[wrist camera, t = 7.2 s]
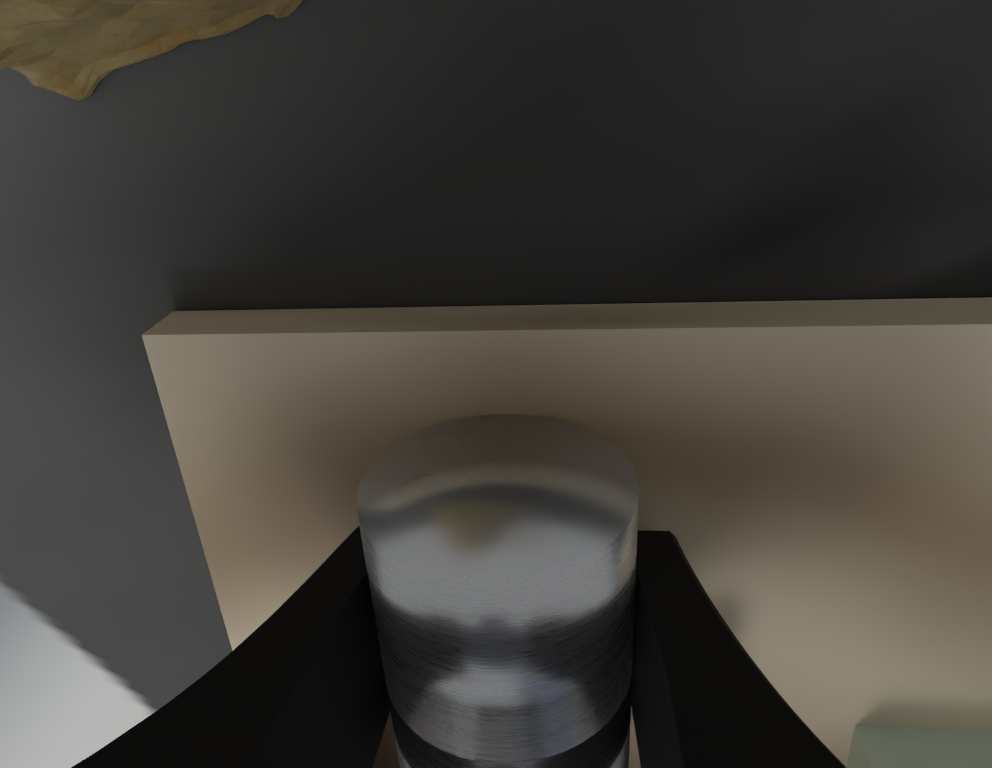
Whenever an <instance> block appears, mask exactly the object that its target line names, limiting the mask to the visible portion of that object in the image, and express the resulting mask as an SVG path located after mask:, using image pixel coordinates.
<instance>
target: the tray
mask: <svg viewBox="0 0 992 768" xmlns="http://www.w3.org/2000/svg"><path fill="white" fill-rule="evenodd" d="M846 768H992V731H977V730H955V729H933V728H910V727H888V726H866V725H855V729H854V733H853V737H852V742H851V746H850V751H849V755H848V759H847V764H846Z"/></svg>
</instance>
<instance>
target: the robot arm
mask: <svg viewBox="0 0 992 768" xmlns="http://www.w3.org/2000/svg"><path fill="white" fill-rule="evenodd" d="M631 707H632V713H633V720H634V726H635V733H636V739H637V745H638V752H639V758H640V764H641V768H846V767H845V766H844V764H843V763H842V762H841V761H840V760H839V759H838V758H837V757H836V756H835V755H834V754H833V753H832V752H831V751H830V750H829V749H828V748H827V747H826V746H825V745H824V744H823V743H822V742H821V740H820V739H819V738H818V737H817V736H816V735H815V734H814V733H813V732H812V731H811V730H810V728H809V727H808V726H807V725H806V724H805V723H804V722H803V721H802V720H801V718H800V717H799V716H798V715H797V714H796V713H795V712H794V711H793V709H792V708H791V707H790V706H789V705H788V704H787V702H786V701H785V700H784V699H783V698H782V696H781V695H780V694H779V693H778V692H777V690H776V689H775V688H774V687H773V685H772V684H771V683H770V682H769V680H768V679H767V678H766V677H765V675H764V674H763V673H762V671H761V670H760V669H759V668H758V666H757V665H756V664H755V662H754V661H753V660H752V658H751V657H750V656H749V655H748V653H747V652H746V650H745V649H744V648H743V646H742V645H741V644H740V642H739V641H738V639H737V638H736V637H735V635H734V634H733V632H732V631H731V629H730V628H729V626H728V625H727V623H726V622H725V620H724V619H723V617H722V616H721V615H720V613H719V612H718V610H717V609H716V607H715V606H714V604H713V602H712V601H711V599H710V598H709V596H708V595H707V593H706V591H705V590H704V588H703V586H702V585H701V583H700V581H699V580H698V578H697V576H696V575H695V573H694V571H693V569H692V567H691V566H690V564H689V562H688V560H687V558H686V556H685V554H684V552H683V550H682V548H681V546H680V544H679V542H678V540H677V538H676V537H675V536H674V535H673V534H672V533H671V532H670V531H649V530H637V556H636V584H635V611H634V639H633V666H632V693H631ZM389 713H390V705H389V699H388V693H387V687H386V681H385V675H384V669H383V663H382V657H381V652H380V646H379V640H378V634H377V628H376V622H375V616H374V610H373V604H372V598H371V592H370V586H369V580H368V574H367V568H366V562H365V556H364V550H363V544H362V538H361V532H360V526H358V527H357V528H356V529H355V530H354V531H353V532H352V533H351V534H350V535H349V536H348V537H347V538H346V539H345V540H344V541H343V542H342V543H341V544H340V545H339V546H338V547H337V549H336V550H335V551H334V552H333V553H332V554H331V555H330V556H329V557H328V558H327V559H326V560H325V561H324V562H323V563H322V564H321V566H320V567H319V568H318V569H317V570H316V571H315V572H314V573H313V574H312V575H311V576H310V577H309V578H308V579H307V580H306V581H305V582H304V583H303V584H302V585H301V586H300V587H299V588H298V589H297V590H296V591H295V592H294V593H293V594H292V595H291V596H290V597H289V598H288V599H287V600H286V601H285V602H284V603H283V604H282V605H281V606H280V607H279V608H278V609H277V610H276V611H275V612H274V613H273V614H272V615H271V616H270V617H269V618H268V619H267V620H266V621H265V622H264V623H263V624H262V625H260V626H259V627H258V628H257V629H256V630H255V631H254V632H253V633H252V634H251V635H250V636H248V637H247V638H246V639H245V640H244V641H243V642H242V643H241V644H240V645H239V646H237V647H236V648H235V649H234V650H233V651H232V652H231V653H230V654H229V655H228V656H226V657H225V658H224V659H223V660H222V661H221V662H219V663H218V664H217V665H216V666H215V667H213V668H212V669H211V670H210V671H208V672H207V673H206V674H205V675H204V676H202V677H201V678H200V679H199V680H197V681H196V682H195V683H193V684H192V685H191V686H189V687H188V688H187V689H186V690H184V691H183V692H182V693H180V694H179V695H178V696H176V697H175V698H174V699H173V700H171V701H170V702H169V703H167V704H166V705H164V706H163V707H162V708H160V709H159V710H158V711H156V712H155V713H153V714H152V715H150V716H149V717H147V718H146V719H144V720H143V721H142V722H140V723H139V724H137V725H136V726H134V727H133V728H131V729H130V730H128V731H127V732H125V733H124V734H122V735H121V736H120V737H118V738H116V739H115V740H114V741H112V742H111V743H109V744H108V745H106V746H105V747H103V748H102V749H100V750H99V751H97V752H96V753H94V754H93V755H91V756H89V757H88V758H86V759H85V760H83V761H81V762H80V763H78V764H76V765H75V766H73V767H72V768H372V767H373V764H374V761H375V758H376V755H377V752H378V748H379V745H380V742H381V739H382V736H383V733H384V729H385V726H386V723H387V720H388V717H389Z"/></svg>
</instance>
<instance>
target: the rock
mask: <svg viewBox="0 0 992 768" xmlns="http://www.w3.org/2000/svg"><path fill="white" fill-rule="evenodd" d="M302 1H303V0H0V70H3V69H6V68H8V67H10V68H11V69H14V70H16V71H18V72H20V73H21V74H23V75H25V76H26V77H27V79H28V80H29V81H30V82H31V83H32V84H33V85H34V86H38V87H42V88H46V89H48V90H51V91H54V92H56V93H59V94H62V95H64V96H67V97H69V98H72V99H75V100H78V101H80V100H82V99H85V98H87V97H90V96H91V94H92V93H93V91H94V90H95V88H96V87H97V85H98V84H99V83H100V81H101V80H102V79H103V78H104V77H105V76H107V75H108V74H109V73H110V72H112V71H113V70H114V69H118V68H121V67H124V66H128V65H131V64H134V63H138V62H141V61H144V60H146V59H149V58H152V57H155V56H157V55H160V54H163V53H166V52H169V51H171V50H172V49H174V48H175V47H177V46H178V45H180V44H182V43H184V42H188V41H192V40H197V39H206V38H210V37H214V36H220V35H226V34H228V33H230V32H232V31H234V30H236V29H239V28H241V27H243V26H245V25H247V24H249V23H251V22H252V21H254V20H256V19H258V18H260V17H262V16H263V15H265V14H270V15H274V16H275V17H276V18H277V19H278V18H282V17H286V16H289V15H290V14H291V13H292V12H293V11H294V10H295V9H296V8H297V7H298V6H299V4H300V3H301V2H302Z"/></svg>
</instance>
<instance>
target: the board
mask: <svg viewBox="0 0 992 768" xmlns="http://www.w3.org/2000/svg"><path fill="white" fill-rule="evenodd" d="M142 338H143V341H144V345H145V348H146V352H147V355H148V359H149V362H150V366H151V369H152V373H153V376H154V379H155V383H156V386H157V390H158V393H159V397H160V400H161V404H162V407H163V411H164V414H165V418H166V421H167V425H168V428H169V432H170V435H171V439H172V442H173V446H174V449H175V452H176V456H177V459H178V463H179V466H180V470H181V473H182V477H183V480H184V484H185V487H186V491H187V494H188V498H189V501H190V505H191V508H192V512H193V515H194V518H195V522H196V525H197V529H198V532H199V536H200V539H201V543H202V546H203V550H204V553H205V557H206V560H207V564H208V567H209V571H210V574H211V578H212V581H213V585H214V588H215V591H216V595H217V598H218V602H219V605H220V609H221V612H222V616H223V619H224V623H225V626H226V630H227V633H228V637H229V640H230V644H231V647H232V651H233V650H234V649H235V648H236V647H237V646H239V645H240V644H241V643H242V642H243V641H244V640H245V639H246V638H247V637H248V636H250V635H251V634H252V633H253V632H254V631H255V630H256V629H257V628H258V627H259V626H260V625H262V624H263V623H264V622H265V621H266V620H267V619H268V618H269V617H270V616H271V615H272V614H273V613H274V612H275V611H276V610H277V609H278V608H279V607H280V606H281V605H282V604H283V603H284V602H285V601H286V600H287V599H288V598H289V597H290V596H291V595H292V594H293V593H294V592H295V591H296V590H297V589H298V588H299V587H300V586H301V585H302V584H303V583H304V582H305V581H306V580H307V579H308V578H309V577H310V576H311V575H312V574H313V573H314V572H315V571H316V570H317V569H318V568H319V567H320V566H321V564H322V563H323V562H324V561H325V560H326V559H327V558H328V557H329V556H330V555H331V554H332V553H333V552H334V551H335V550H336V549H337V547H338V546H339V545H340V544H341V543H342V542H343V541H344V540H345V539H346V538H347V537H348V536H349V535H350V534H351V533H352V532H353V531H354V530H355V529H356V528H357V527H358V526H359V520H358V514H357V505H356V497H357V491H358V487H359V485H360V482H361V480H362V478H363V476H364V474H365V473H366V471H367V470H368V468H369V467H370V466H371V465H372V464H373V462H374V461H375V460H376V459H377V458H378V457H379V456H381V455H382V454H383V453H384V452H385V451H386V450H388V449H389V448H391V447H392V446H394V445H395V444H396V443H398V442H400V441H402V440H403V439H405V438H407V437H409V436H411V435H413V434H415V433H418V432H420V431H422V430H425V429H428V428H430V427H433V426H436V425H439V424H443V423H446V422H450V421H455V420H459V419H464V418H470V417H477V416H486V415H507V414H514V415H531V416H540V417H546V418H552V419H557V420H561V421H565V422H569V423H572V424H575V425H578V426H581V427H584V428H586V429H588V430H590V431H593V432H595V433H597V434H599V435H600V436H602V437H604V438H606V439H607V440H609V441H610V442H611V443H613V444H614V445H615V446H617V447H618V448H619V449H620V450H621V451H622V452H623V453H624V454H625V455H626V456H627V458H628V459H629V461H630V462H631V464H632V465H633V467H634V469H635V472H636V474H637V477H638V483H639V502H638V529H637V530H649V531H670V532H671V533H672V534H673V535H674V536H675V537H676V538H677V540H678V542H679V544H680V546H681V548H682V550H683V552H684V554H685V556H686V558H687V560H688V562H689V564H690V566H691V567H692V569H693V571H694V573H695V575H696V576H697V578H698V580H699V581H700V583H701V585H702V586H703V588H704V590H705V591H706V593H707V595H708V596H709V598H710V599H711V601H712V602H713V604H714V606H715V607H716V609H717V610H718V612H719V613H720V615H721V616H722V617H723V619H724V620H725V622H726V623H727V625H728V626H729V628H730V629H731V631H732V632H733V634H734V635H735V637H736V638H737V639H738V641H739V642H740V644H741V645H742V646H743V648H744V649H745V650H746V652H747V653H748V655H749V656H750V657H751V658H752V660H753V661H754V662H755V664H756V665H757V666H758V668H759V669H760V670H761V671H762V673H763V674H764V675H765V677H766V678H767V679H768V680H769V682H770V683H771V684H772V685H773V687H774V688H775V689H776V690H777V692H778V693H779V694H780V695H781V696H782V698H783V699H784V700H785V701H786V702H787V704H788V705H789V706H790V707H791V708H792V709H793V711H794V712H795V713H796V714H797V715H798V716H799V717H800V718H801V720H802V721H803V722H804V723H805V724H806V725H807V726H808V727H809V728H810V730H811V731H812V732H813V733H814V734H815V735H816V736H817V737H818V738H819V739H820V740H821V742H822V743H823V744H824V745H825V746H826V747H827V748H828V749H829V750H830V751H831V752H832V753H833V754H834V755H835V756H836V757H837V758H838V759H839V760H840V761H841V762H842V763H843V764H844V766H845V767H846V764H847V759H848V755H849V751H850V746H851V742H852V737H853V733H854V729H855V725H866V726H888V727H910V728H933V729H955V730H977V731H992V297H987V298H927V299H867V300H807V301H747V302H687V303H627V304H567V305H507V306H447V307H387V308H328V309H268V310H208V311H173V312H172V313H171V314H169V315H168V316H167V317H165V318H164V319H163V320H161V321H160V322H159V323H157V324H156V325H155V326H153V327H152V328H151V329H149V330H148V331H147V332H145V333H144V334H143V335H142ZM629 768H641V764H640V758H639V752H638V745H637V739H636V733H635V726H634V720H633V713H632V707H631V721H630V748H629Z"/></svg>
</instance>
